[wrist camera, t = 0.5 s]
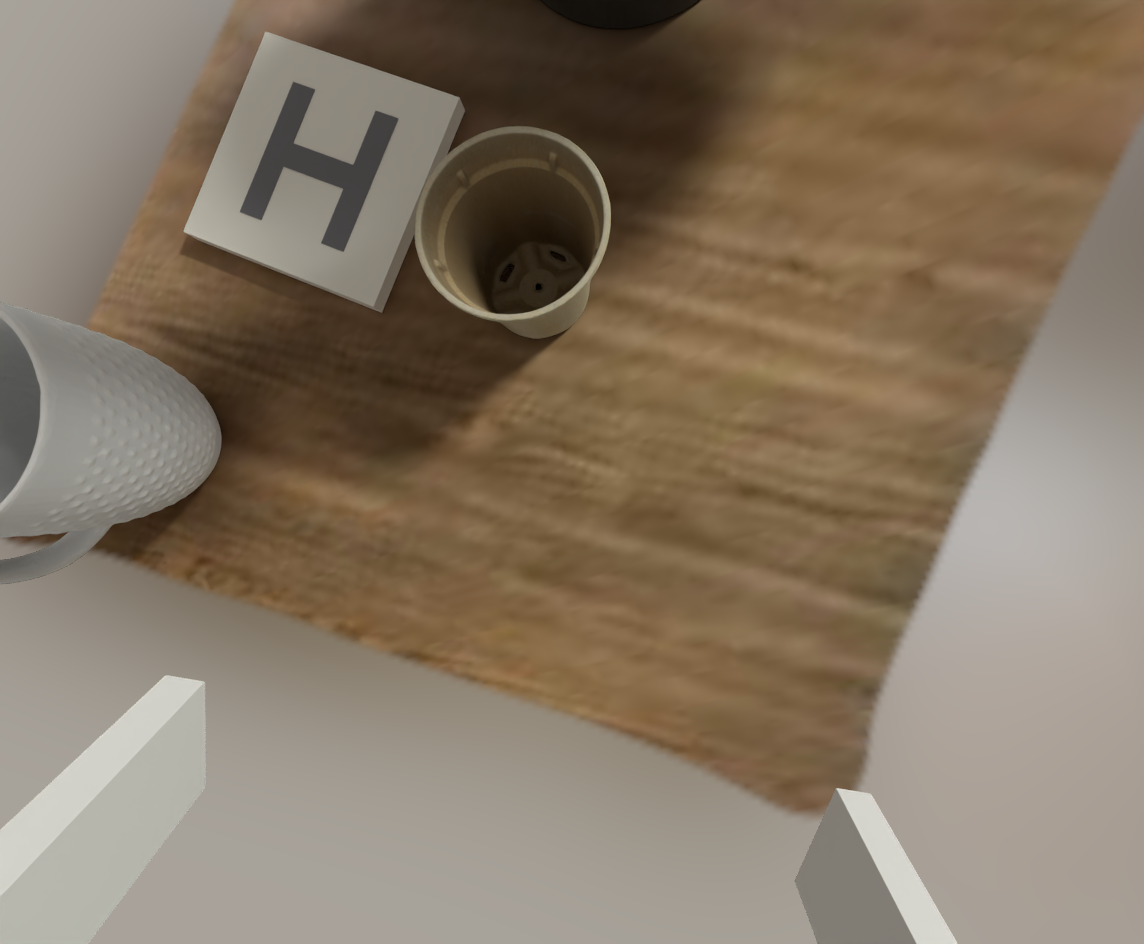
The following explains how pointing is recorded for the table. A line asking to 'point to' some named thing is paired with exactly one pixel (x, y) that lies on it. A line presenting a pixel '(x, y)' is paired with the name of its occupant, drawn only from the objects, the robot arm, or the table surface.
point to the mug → (90, 437)
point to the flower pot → (514, 228)
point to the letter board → (324, 169)
